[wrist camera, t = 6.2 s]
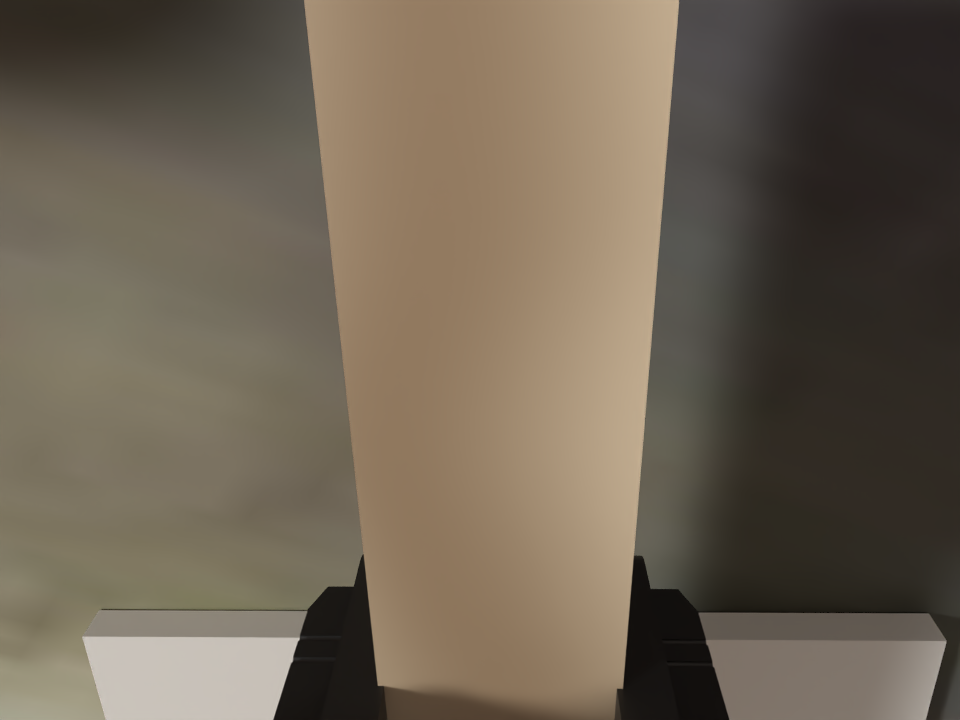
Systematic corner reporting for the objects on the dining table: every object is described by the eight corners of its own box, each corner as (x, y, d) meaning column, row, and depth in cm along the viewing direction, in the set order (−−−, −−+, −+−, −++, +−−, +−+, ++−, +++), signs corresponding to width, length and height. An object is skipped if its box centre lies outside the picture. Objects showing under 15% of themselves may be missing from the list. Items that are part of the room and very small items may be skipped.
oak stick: (626, -135, 10) (692, -162, 6) (573, 895, 19) (587, 1120, 16) (367, -129, 10) (289, -150, 6) (439, 893, 19) (424, 1114, 16)
